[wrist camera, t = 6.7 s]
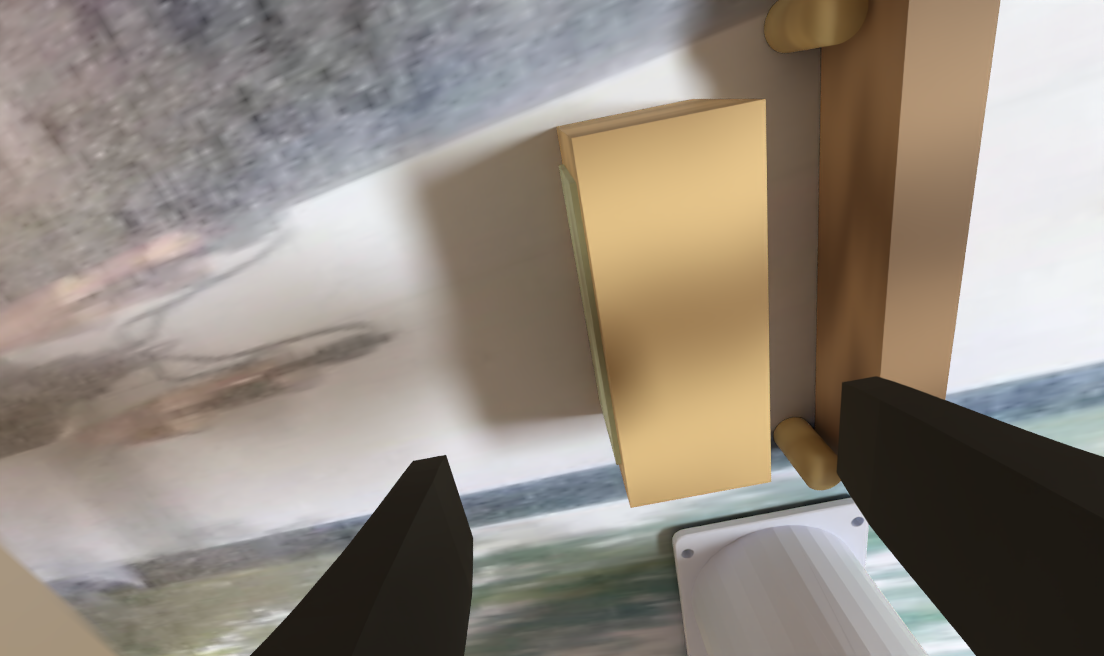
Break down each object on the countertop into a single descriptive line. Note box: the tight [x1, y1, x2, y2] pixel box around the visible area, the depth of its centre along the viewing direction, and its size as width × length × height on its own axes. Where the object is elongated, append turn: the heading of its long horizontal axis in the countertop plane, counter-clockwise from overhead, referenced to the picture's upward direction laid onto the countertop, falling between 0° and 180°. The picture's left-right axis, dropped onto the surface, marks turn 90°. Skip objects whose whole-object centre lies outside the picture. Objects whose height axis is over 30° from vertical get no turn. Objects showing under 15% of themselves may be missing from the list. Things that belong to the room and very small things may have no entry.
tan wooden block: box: [556, 99, 771, 508], centre depth 15 cm, size 10×4×5 cm, turn 11°
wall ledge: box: [764, 0, 1000, 490], centre depth 15 cm, size 18×4×4 cm, turn 11°
